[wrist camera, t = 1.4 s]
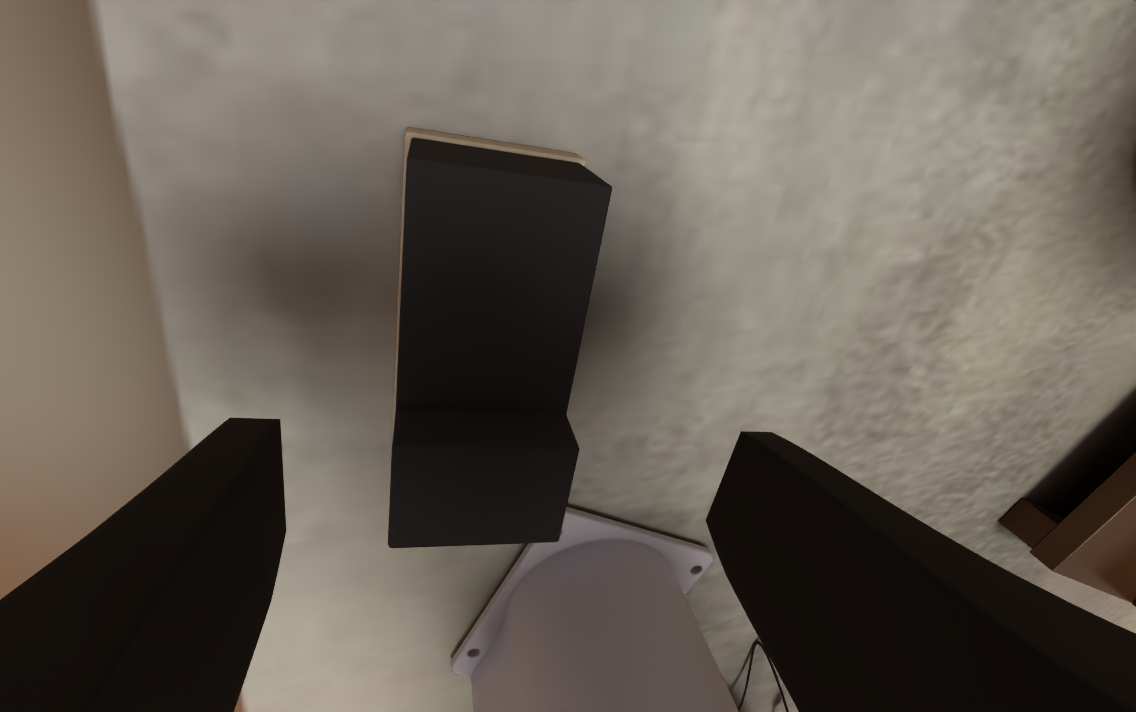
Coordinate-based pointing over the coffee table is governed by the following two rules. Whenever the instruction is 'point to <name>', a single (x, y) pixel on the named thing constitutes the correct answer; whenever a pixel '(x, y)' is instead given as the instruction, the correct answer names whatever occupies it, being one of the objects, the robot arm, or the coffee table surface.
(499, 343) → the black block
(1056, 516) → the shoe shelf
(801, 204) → the coffee table surface
